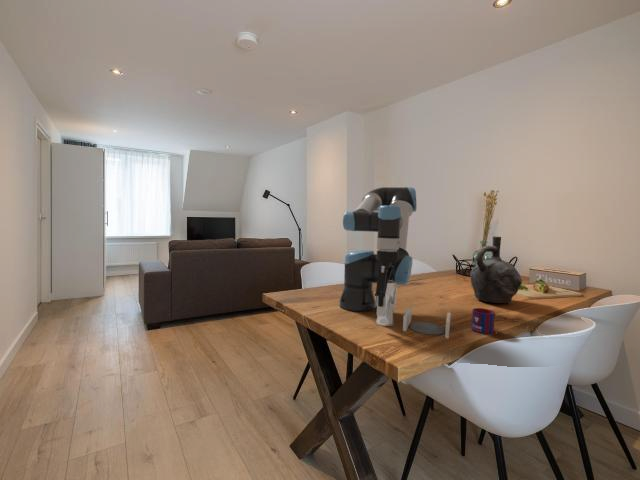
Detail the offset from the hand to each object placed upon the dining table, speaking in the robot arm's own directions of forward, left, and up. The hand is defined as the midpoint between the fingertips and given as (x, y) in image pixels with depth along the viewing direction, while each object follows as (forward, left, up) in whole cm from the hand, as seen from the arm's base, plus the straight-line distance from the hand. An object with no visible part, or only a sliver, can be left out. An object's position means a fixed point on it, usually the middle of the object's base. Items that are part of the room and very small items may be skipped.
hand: (385, 310), depth 112 cm
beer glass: (0, 0, -5) cm, 5 cm away
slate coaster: (+14, +1, -5) cm, 15 cm away
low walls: (+14, +1, -5) cm, 15 cm away
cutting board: (+61, +90, -5) cm, 109 cm away
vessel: (+37, +55, -5) cm, 67 cm away
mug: (+32, +10, -5) cm, 34 cm away
